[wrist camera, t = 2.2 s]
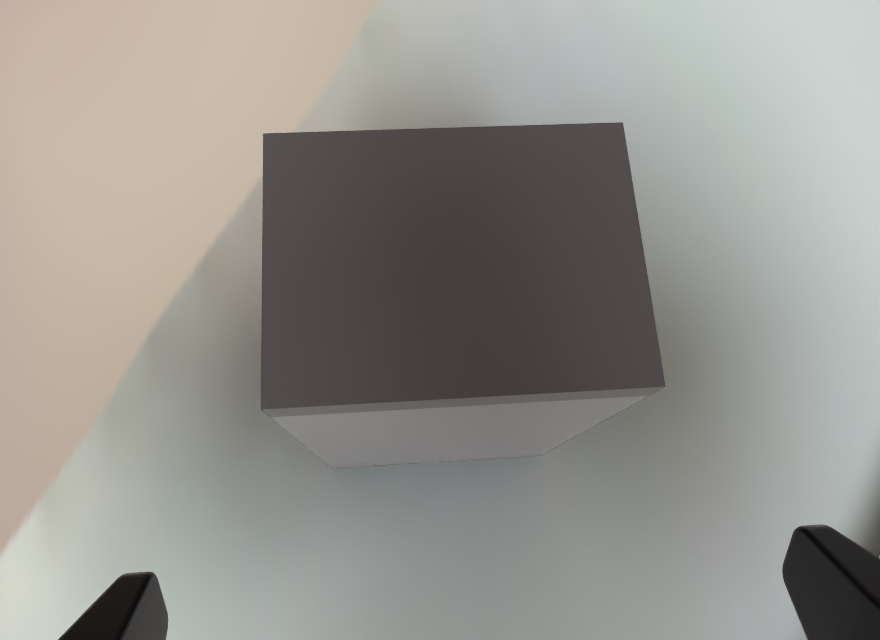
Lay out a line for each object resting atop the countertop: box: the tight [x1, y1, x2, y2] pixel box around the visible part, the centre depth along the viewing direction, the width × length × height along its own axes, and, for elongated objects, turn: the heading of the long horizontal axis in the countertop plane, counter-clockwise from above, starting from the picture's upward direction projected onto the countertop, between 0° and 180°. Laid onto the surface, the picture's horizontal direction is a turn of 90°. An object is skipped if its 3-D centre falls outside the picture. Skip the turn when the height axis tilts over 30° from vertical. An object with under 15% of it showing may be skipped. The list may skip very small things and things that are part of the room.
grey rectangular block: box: [261, 123, 665, 468], centre depth 17 cm, size 6×7×11 cm
